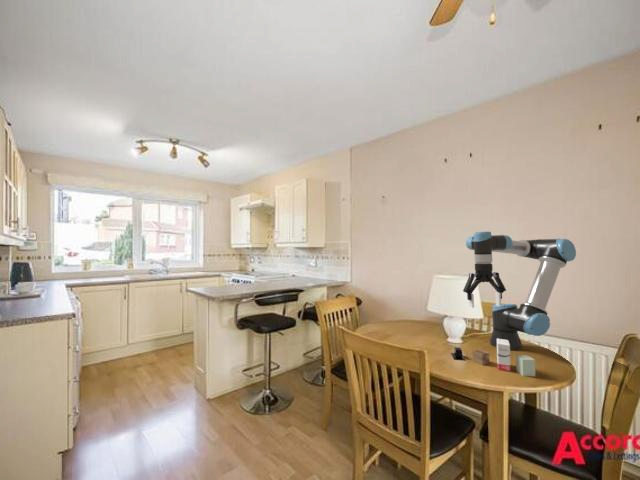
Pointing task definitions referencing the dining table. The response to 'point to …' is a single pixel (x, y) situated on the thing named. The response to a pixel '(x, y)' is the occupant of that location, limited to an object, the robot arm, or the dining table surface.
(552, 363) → the dining table surface
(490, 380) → the dining table surface
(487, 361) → the walnut cube
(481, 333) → the dining table surface
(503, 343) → the ink box
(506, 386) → the dining table surface
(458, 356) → the black bracket plate
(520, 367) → the sage block
